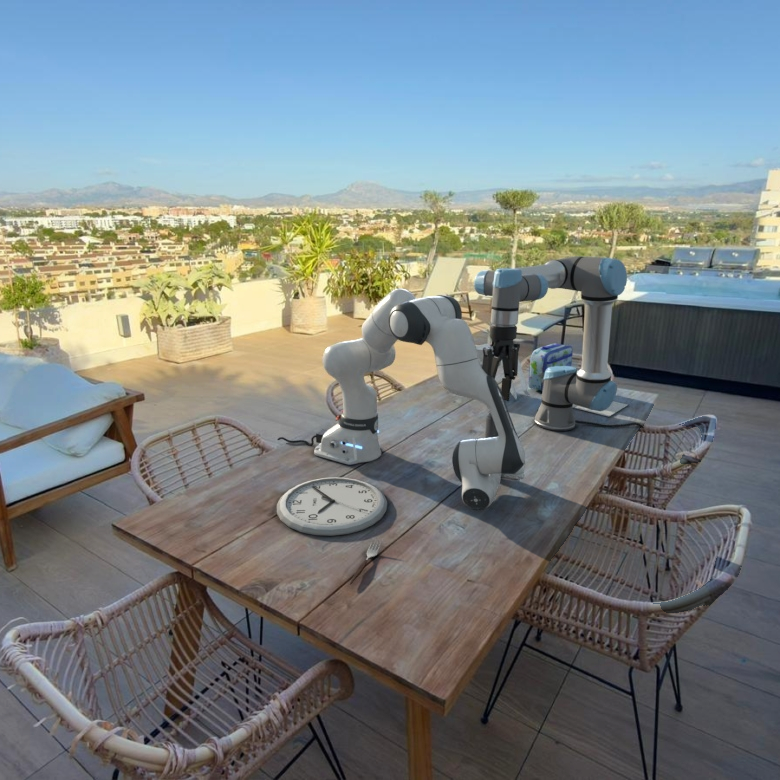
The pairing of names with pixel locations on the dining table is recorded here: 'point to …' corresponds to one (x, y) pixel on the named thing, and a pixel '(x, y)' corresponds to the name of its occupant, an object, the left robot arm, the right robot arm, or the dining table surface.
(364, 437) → the left robot arm
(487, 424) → the bottle
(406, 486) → the dining table surface
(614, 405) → the invitation card
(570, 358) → the lunch box
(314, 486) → the wall clock
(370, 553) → the fork
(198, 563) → the dining table surface
